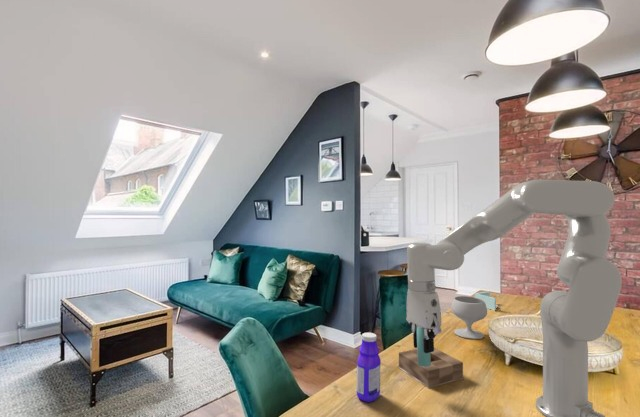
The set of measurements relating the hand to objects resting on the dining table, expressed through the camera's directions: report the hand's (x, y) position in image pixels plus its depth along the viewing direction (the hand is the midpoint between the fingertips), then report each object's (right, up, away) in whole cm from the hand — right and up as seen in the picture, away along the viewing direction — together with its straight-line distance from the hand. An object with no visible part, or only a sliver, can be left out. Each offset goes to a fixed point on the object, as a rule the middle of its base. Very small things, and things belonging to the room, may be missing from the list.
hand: (423, 348), depth 97 cm
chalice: (+34, -14, +47) cm, 59 cm away
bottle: (-16, -13, -2) cm, 21 cm away
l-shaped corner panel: (+65, -15, +89) cm, 112 cm away
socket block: (+6, -13, +12) cm, 18 cm away
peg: (0, -4, 0) cm, 4 cm away
